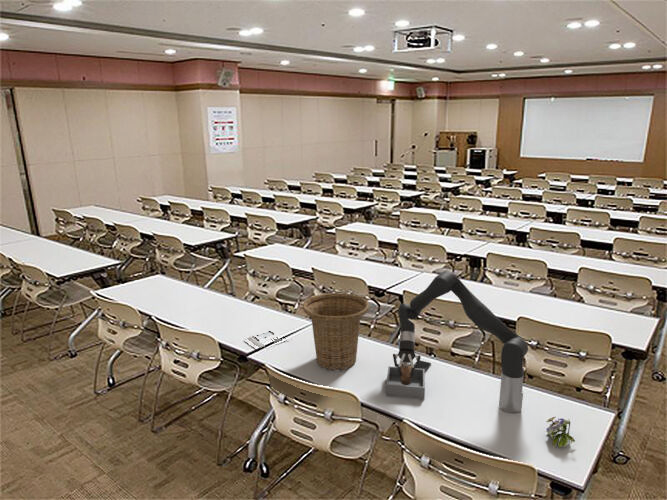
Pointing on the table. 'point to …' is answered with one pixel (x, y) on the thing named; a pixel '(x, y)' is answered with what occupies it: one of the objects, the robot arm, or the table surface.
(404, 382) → the pepper mill
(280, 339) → the office telephone
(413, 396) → the bin
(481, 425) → the table surface
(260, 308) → the table surface
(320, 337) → the wicker basket
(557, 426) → the passion flower
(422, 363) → the phone
